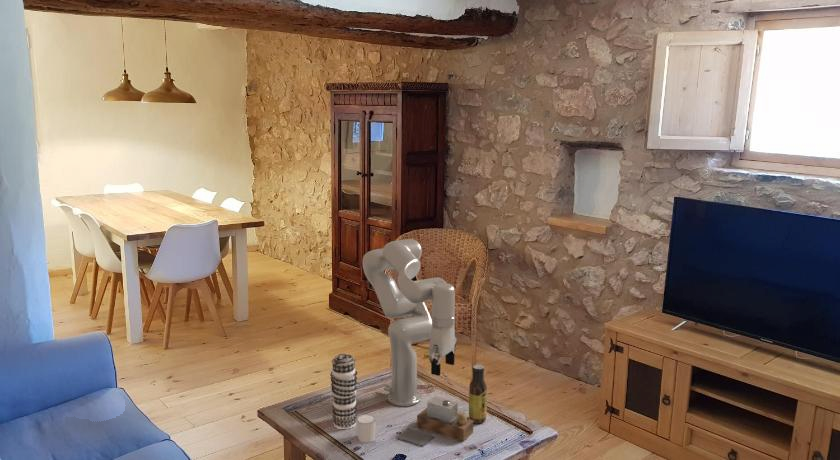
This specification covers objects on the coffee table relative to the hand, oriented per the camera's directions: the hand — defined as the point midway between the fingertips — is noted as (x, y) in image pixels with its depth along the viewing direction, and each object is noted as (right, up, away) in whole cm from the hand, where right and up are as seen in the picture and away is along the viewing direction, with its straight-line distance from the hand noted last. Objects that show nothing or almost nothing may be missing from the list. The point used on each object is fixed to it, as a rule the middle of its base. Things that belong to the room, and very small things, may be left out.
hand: (443, 369), depth 212 cm
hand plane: (+1, -22, +4) cm, 22 cm away
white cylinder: (-26, -23, -1) cm, 34 cm away
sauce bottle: (+13, -20, +11) cm, 26 cm away
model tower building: (-34, -21, +9) cm, 41 cm away
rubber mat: (-9, -23, -1) cm, 25 cm away
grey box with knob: (0, -17, +4) cm, 17 cm away
